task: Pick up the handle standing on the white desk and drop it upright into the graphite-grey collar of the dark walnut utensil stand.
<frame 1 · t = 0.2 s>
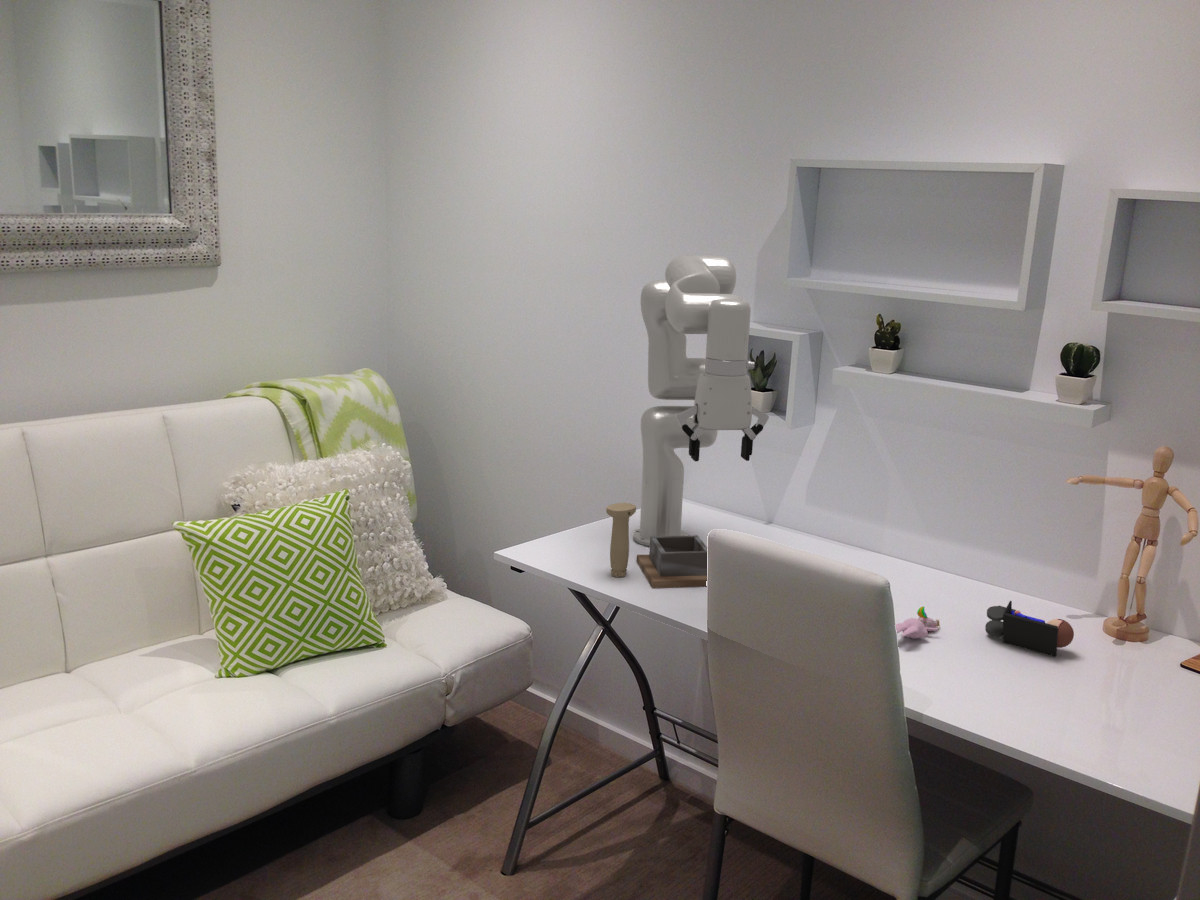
hand: (720, 459, 192), 31 cm above the table, tool pointing down, fingers open, 9 cm apart
utensil stand: (678, 573, 221), on the table
pink unicorn toy: (914, 638, 193), on the table
character figurine: (1025, 647, 190), on the table
handle: (618, 576, 219), on the table
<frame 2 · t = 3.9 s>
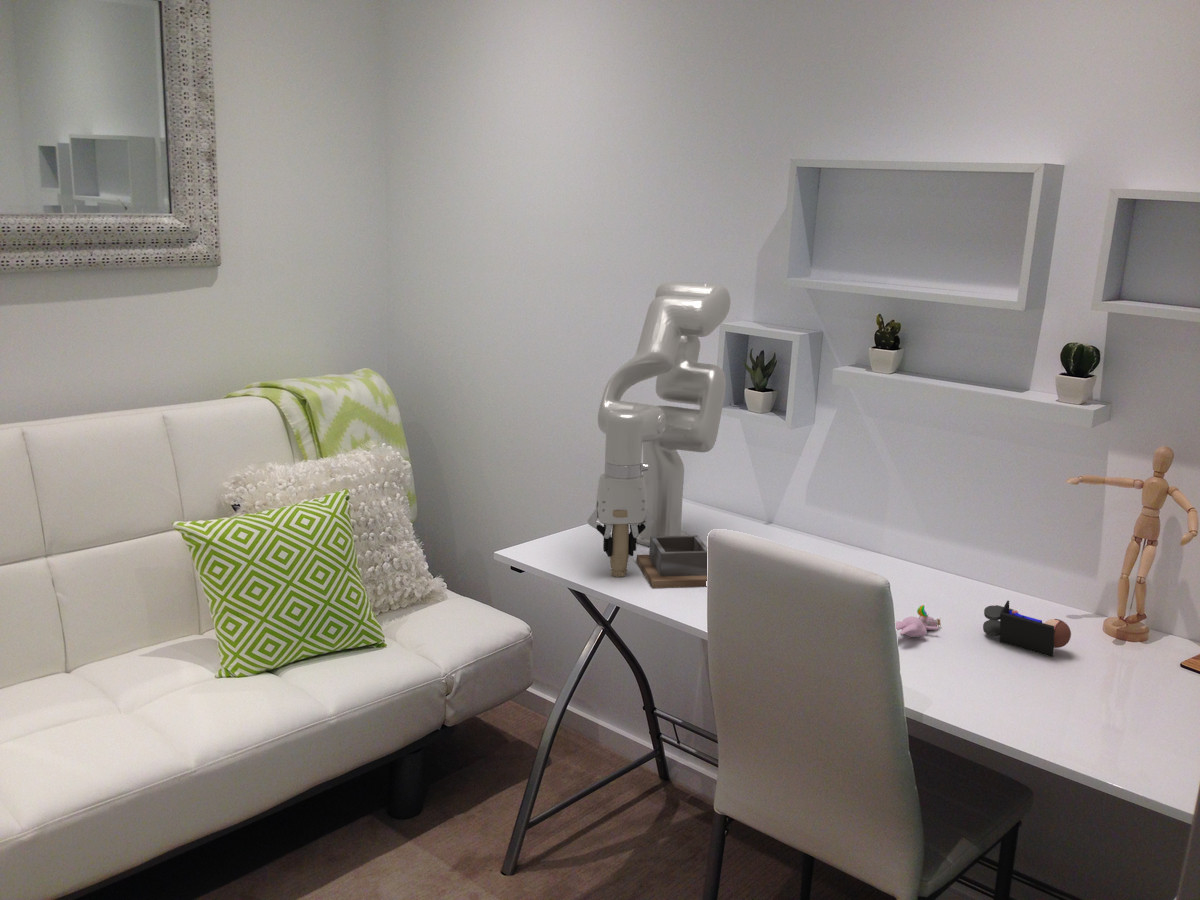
hand: (619, 553, 218), 5 cm above the table, tool pointing down, fingers closed on handle, 4 cm apart
handle: (618, 576, 219), on the table, touching gripper
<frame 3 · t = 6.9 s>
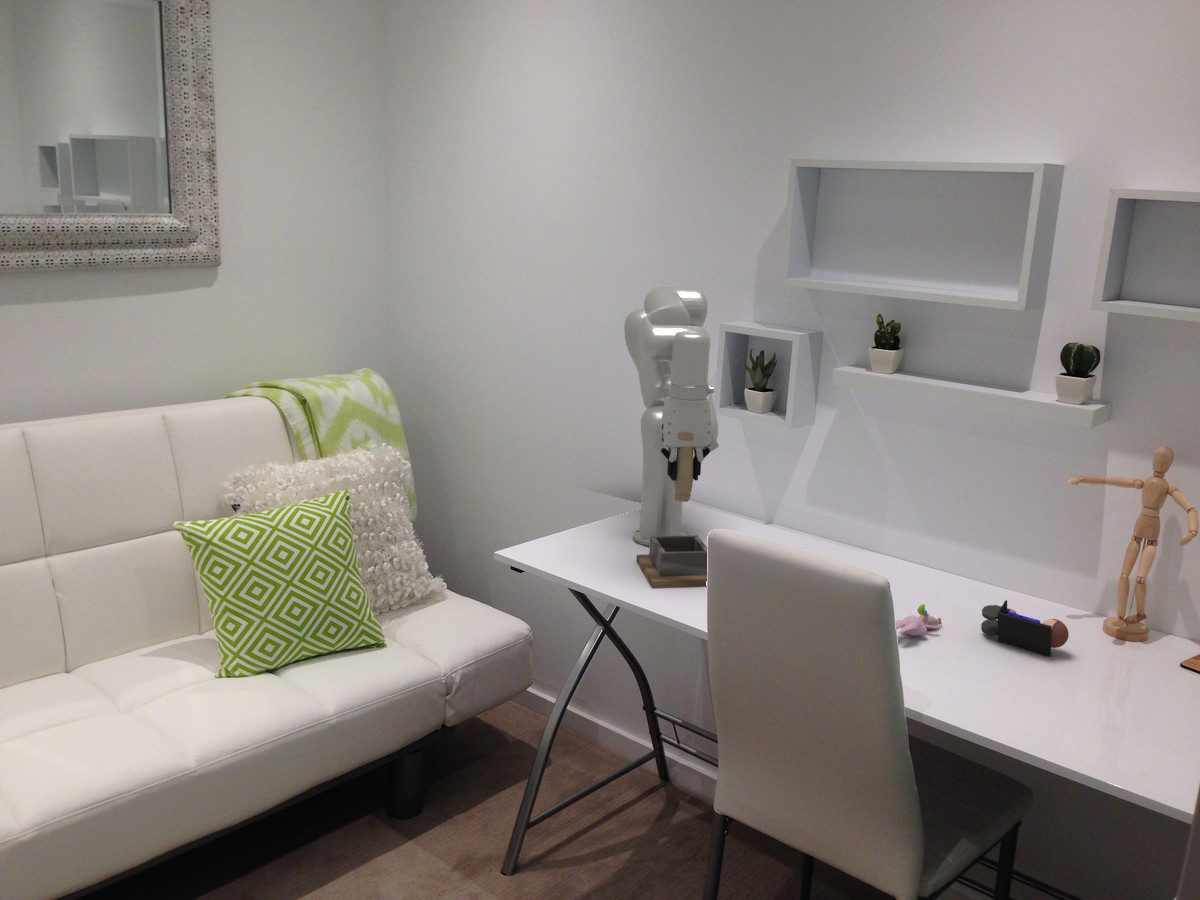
hand: (683, 477, 216), 21 cm above the table, tool pointing down, fingers closed on handle, 4 cm apart
handle: (682, 501, 217), point 16 cm above the table, touching gripper
when the fingers open (8 cm above the table, at t = 10.3 s): handle drops 1 cm, resting on utensil stand.
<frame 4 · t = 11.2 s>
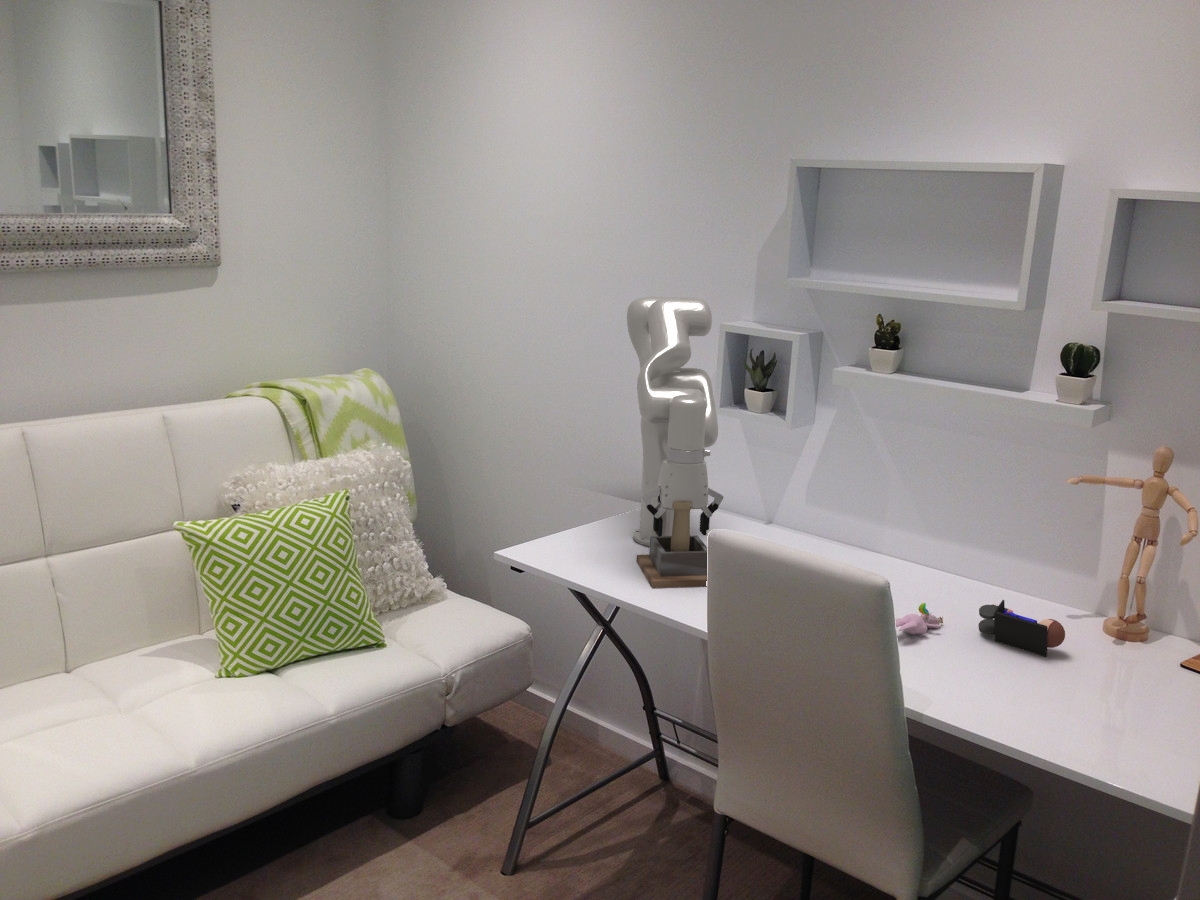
hand: (680, 533, 219), 9 cm above the table, tool pointing down, fingers open, 9 cm apart
handle: (678, 567, 221), point 1 cm above the table, touching utensil stand
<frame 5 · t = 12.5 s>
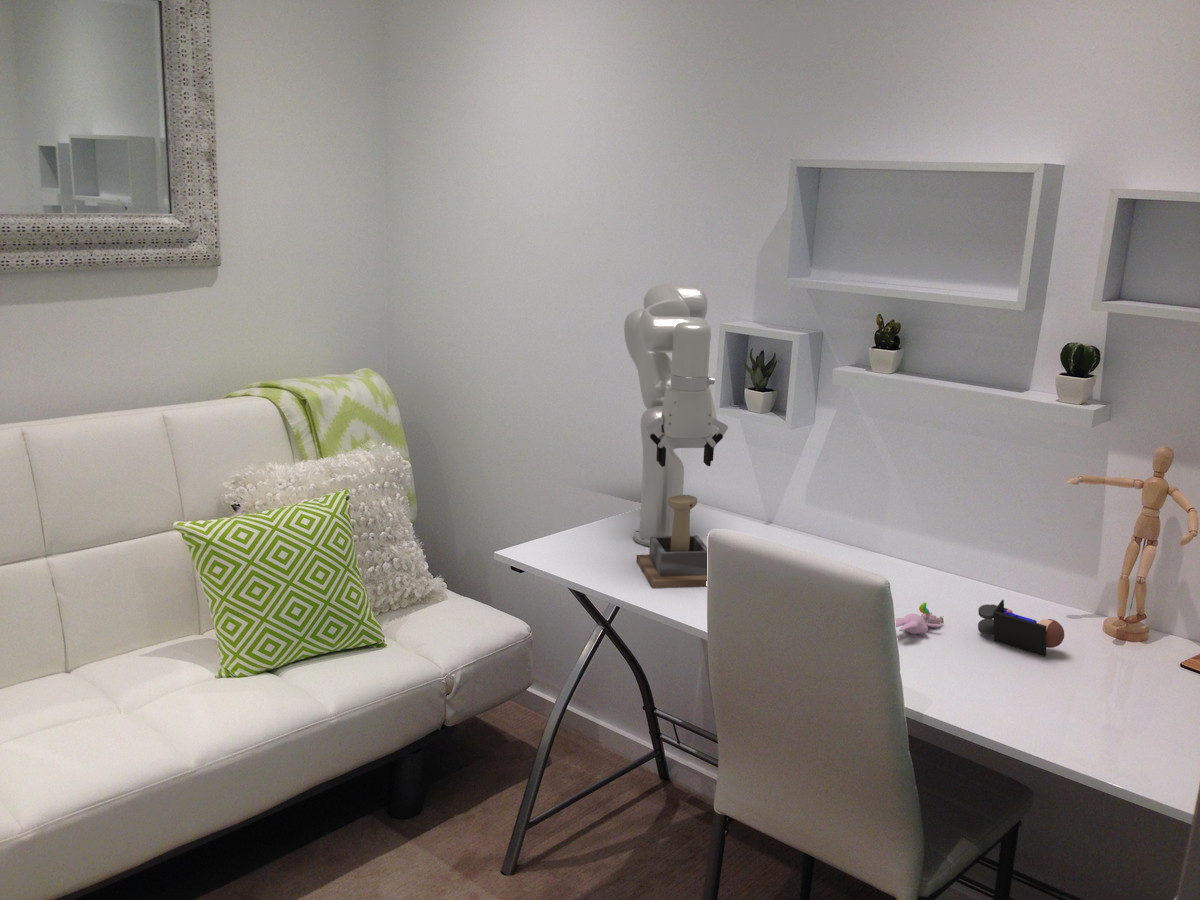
hand: (684, 464, 215), 24 cm above the table, tool pointing down, fingers open, 9 cm apart
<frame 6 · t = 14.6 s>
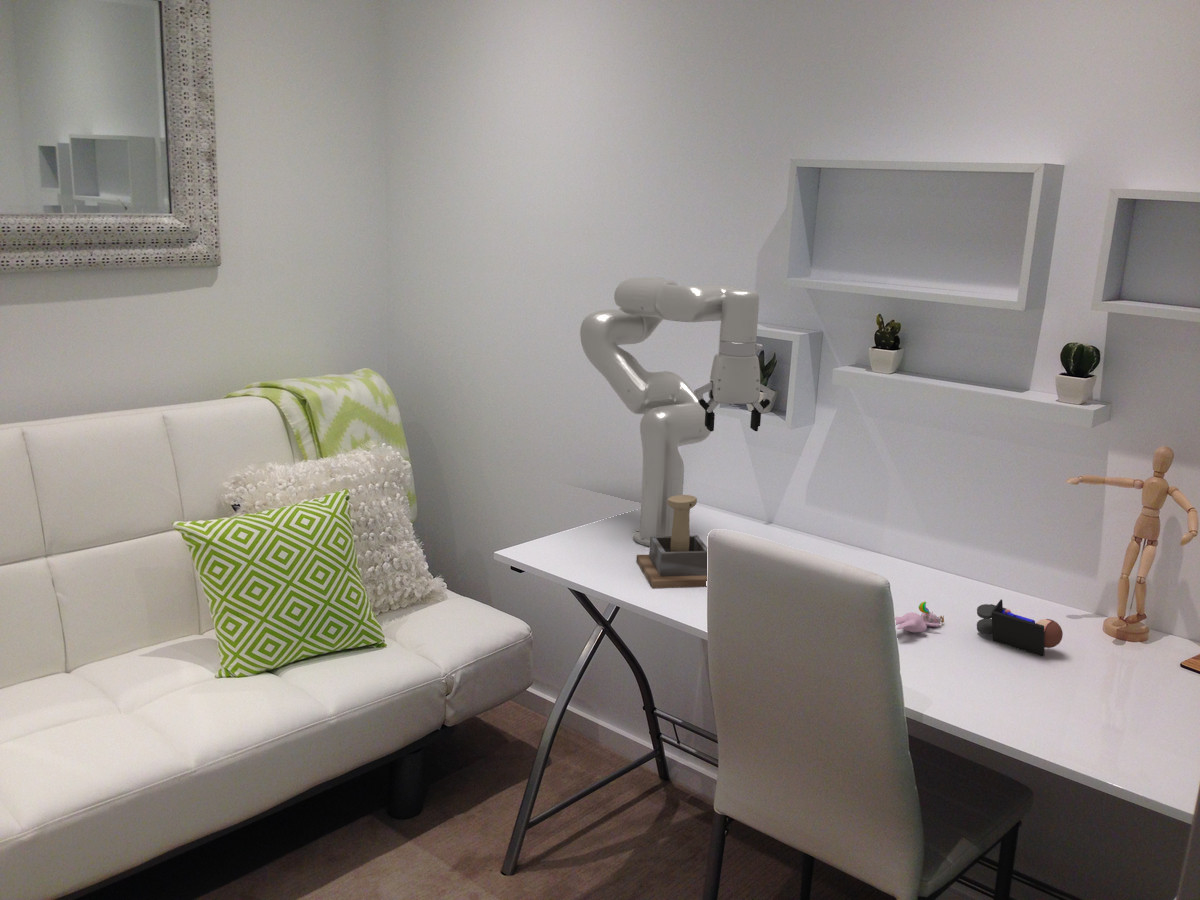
hand: (732, 429, 219), 30 cm above the table, tool pointing down, fingers open, 9 cm apart
at the end: handle 0.1 cm off-centre on the utensil stand, point 1.3 cm above the utensil stand's base; handle tilted 0°; the gripper is holding nothing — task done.
